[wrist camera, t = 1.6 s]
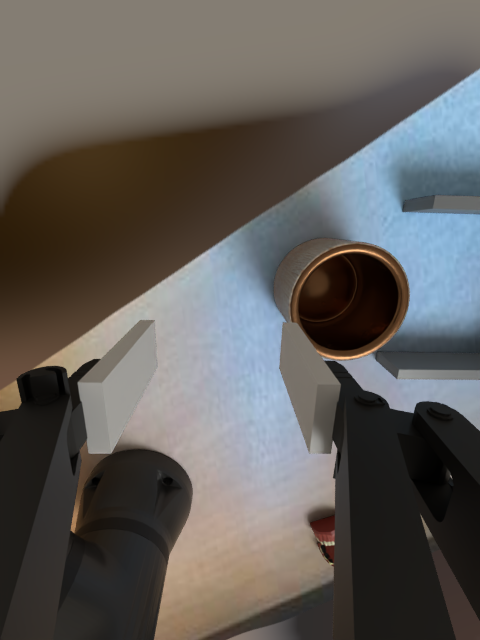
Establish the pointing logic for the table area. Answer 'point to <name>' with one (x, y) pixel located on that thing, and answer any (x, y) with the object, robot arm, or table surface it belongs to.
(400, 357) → the box
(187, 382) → the table surface
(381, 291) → the planter
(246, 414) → the table surface
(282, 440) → the table surface
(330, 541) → the dentures
